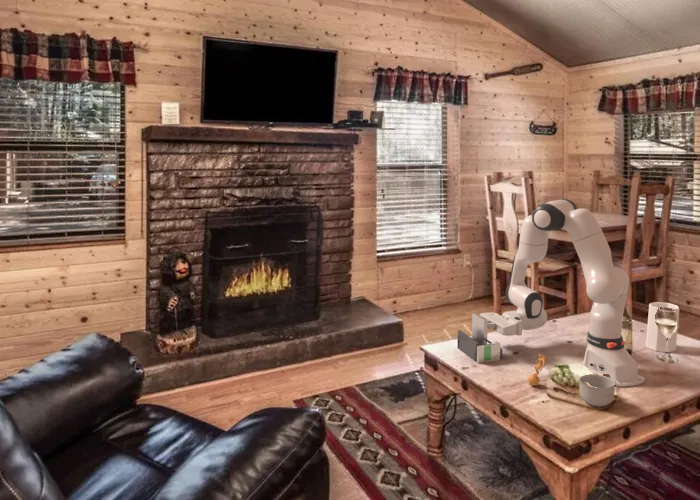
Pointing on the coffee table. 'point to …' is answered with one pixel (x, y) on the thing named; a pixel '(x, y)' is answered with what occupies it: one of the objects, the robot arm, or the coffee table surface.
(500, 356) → the gauge housing
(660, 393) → the coffee table surface
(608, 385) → the teacup
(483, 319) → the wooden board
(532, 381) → the figurine
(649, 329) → the cup
